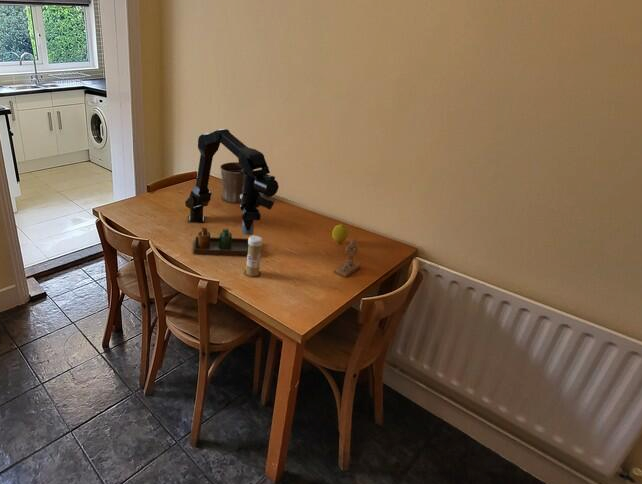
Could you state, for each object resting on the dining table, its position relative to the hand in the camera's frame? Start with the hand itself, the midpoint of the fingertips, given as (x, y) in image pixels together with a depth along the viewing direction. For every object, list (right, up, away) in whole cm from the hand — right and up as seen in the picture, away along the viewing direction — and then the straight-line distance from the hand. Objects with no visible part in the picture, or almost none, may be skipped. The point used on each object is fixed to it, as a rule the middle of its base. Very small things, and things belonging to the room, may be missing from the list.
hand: (247, 227), depth 151 cm
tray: (-8, -8, +4) cm, 12 cm away
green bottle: (-8, -7, +4) cm, 12 cm away
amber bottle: (-16, -7, +5) cm, 18 cm away
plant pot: (+3, +14, +51) cm, 53 cm away
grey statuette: (+32, -15, -10) cm, 37 cm away
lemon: (+37, -6, +8) cm, 38 cm away
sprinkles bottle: (0, -16, -12) cm, 19 cm away
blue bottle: (0, -2, +1) cm, 2 cm away
